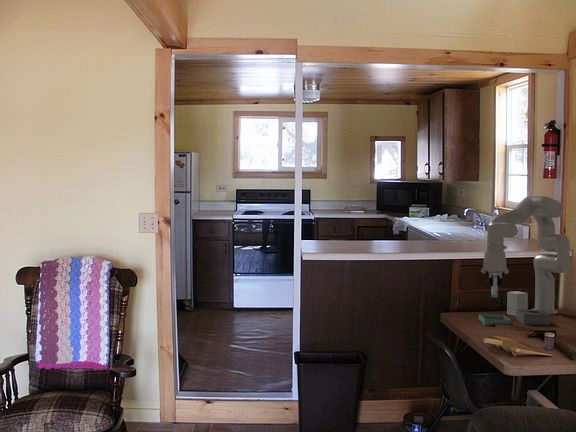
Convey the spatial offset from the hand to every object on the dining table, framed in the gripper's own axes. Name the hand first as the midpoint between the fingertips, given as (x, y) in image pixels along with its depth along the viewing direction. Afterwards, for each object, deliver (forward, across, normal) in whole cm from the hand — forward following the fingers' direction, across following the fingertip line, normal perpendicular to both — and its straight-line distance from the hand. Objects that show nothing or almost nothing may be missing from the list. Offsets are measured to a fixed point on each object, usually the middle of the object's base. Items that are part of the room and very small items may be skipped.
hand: (494, 285), depth 270 cm
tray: (+18, 0, 0) cm, 19 cm away
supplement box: (+18, -16, -18) cm, 30 cm away
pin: (+6, 0, 0) cm, 6 cm away
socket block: (+18, -18, 0) cm, 26 cm away
